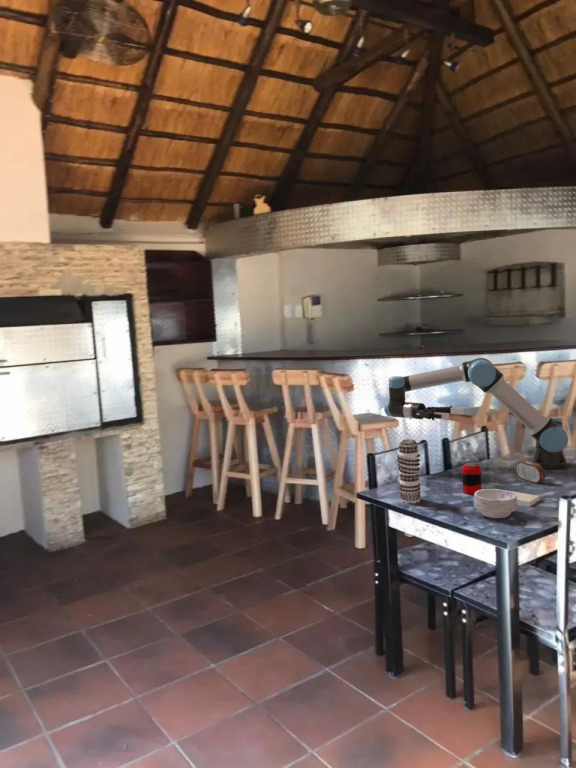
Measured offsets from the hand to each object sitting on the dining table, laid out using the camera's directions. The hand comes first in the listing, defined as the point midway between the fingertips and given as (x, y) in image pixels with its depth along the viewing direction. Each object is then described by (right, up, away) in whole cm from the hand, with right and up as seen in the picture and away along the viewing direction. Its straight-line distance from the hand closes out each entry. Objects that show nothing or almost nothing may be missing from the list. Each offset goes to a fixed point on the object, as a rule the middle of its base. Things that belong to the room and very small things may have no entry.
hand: (456, 414), depth 271 cm
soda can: (+2, -32, -15) cm, 36 cm away
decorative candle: (-25, -34, -21) cm, 47 cm away
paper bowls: (+3, -36, -43) cm, 56 cm away
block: (+12, -32, -24) cm, 42 cm away
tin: (+31, -29, -4) cm, 43 cm away
